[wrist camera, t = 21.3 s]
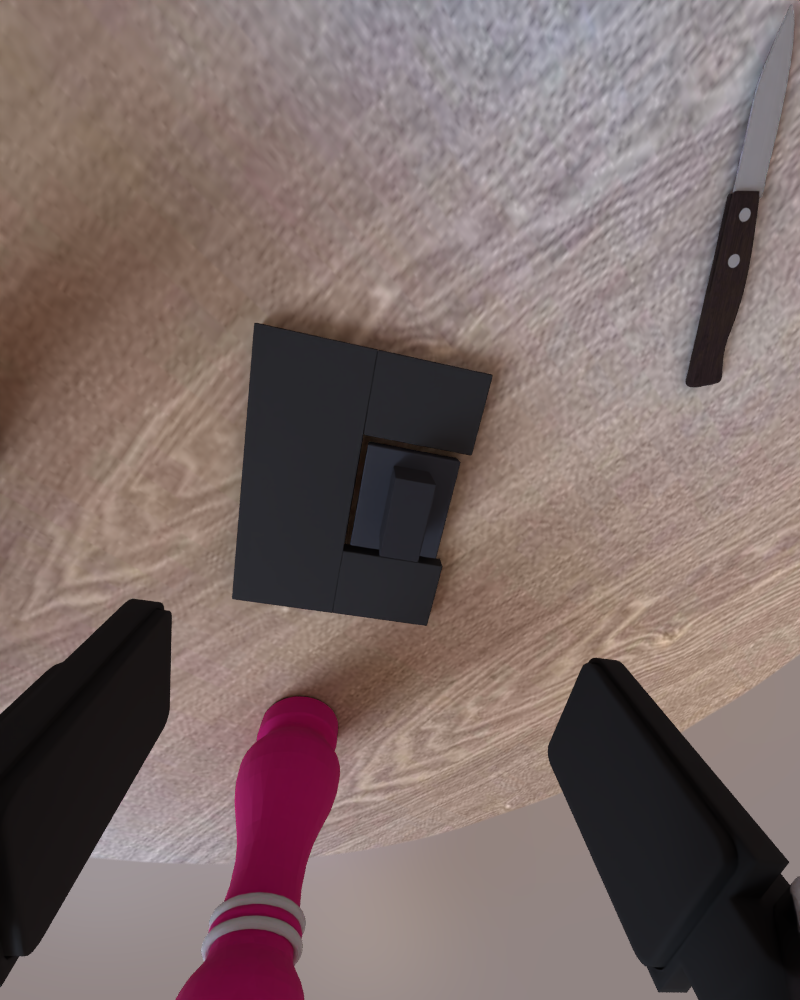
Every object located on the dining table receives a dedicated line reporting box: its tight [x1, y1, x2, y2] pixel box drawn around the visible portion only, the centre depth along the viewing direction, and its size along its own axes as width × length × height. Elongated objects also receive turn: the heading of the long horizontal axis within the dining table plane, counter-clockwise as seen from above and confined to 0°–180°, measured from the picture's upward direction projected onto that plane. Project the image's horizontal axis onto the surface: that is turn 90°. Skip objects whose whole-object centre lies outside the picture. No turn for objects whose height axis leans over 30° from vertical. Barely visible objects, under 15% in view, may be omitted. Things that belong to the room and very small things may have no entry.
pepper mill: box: [176, 696, 340, 1000], centre depth 23 cm, size 7×7×20 cm
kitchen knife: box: [686, 4, 794, 387], centre depth 22 cm, size 18×1×2 cm
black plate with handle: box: [350, 442, 460, 562], centre depth 25 cm, size 7×6×4 cm
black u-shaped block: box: [232, 323, 492, 626], centre depth 26 cm, size 18×14×1 cm
